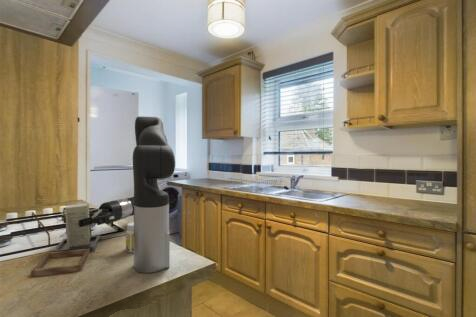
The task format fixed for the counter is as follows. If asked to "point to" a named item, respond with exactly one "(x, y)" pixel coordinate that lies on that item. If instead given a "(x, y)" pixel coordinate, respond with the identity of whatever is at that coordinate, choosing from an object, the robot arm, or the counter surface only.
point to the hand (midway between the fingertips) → (71, 222)
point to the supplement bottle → (130, 237)
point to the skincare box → (72, 229)
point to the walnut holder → (42, 271)
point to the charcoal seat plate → (78, 245)
